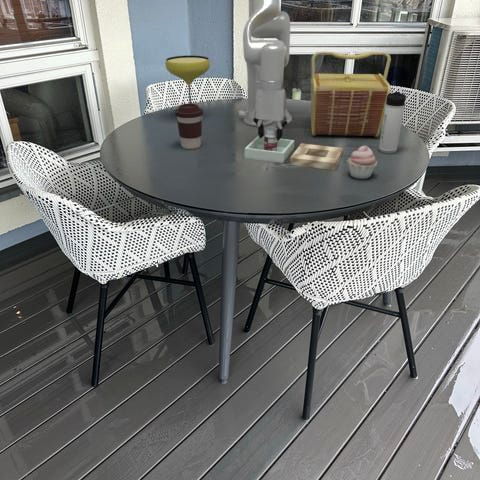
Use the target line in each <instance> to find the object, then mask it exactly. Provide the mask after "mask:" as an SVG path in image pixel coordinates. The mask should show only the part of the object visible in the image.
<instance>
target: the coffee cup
mask: <svg viewBox="0 0 480 480" xmlns="http://www.w3.org/2000/svg"><path fill="white" fill-rule="evenodd" d="M174 112H175V113H174V114H175V117H176V118H177V120H176V121H177V128H178V129H177V130H178V136H179V137H180V139H179V140H180V145H181V148H183V149H186V150H196V149H199V148H200V147H201V146H202V145H201V144H202V136H203V134H202V131H203V130H202V129H203V121H202V119H201V117H202V116H203V114H204V110H203V109H202V107H200V106H199V105H198V104H196V103H192V102H191V103H183V104H179V106H178V107H177V108H176V109H175V110H174Z"/></svg>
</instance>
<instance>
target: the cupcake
mask: <svg viewBox="0 0 480 480" xmlns="http://www.w3.org/2000/svg"><path fill="white" fill-rule="evenodd" d="M346 162H347V165H348V169H349V174H350V177H352V178H354V179H358V180H359V179H360V180H367V179H369V178H370V177H371V175H372V173H373V172H374V171H373V170H374V169H375V167H376V166H377V165H378V161H376V157H375V154H374V152H373V151H372V149H371V148H369V146H367V145H361V146H360V147H359V148H358V149H357V150H354V151H353V152H352V153H351V155H350V157H348V159H347V160H346Z"/></svg>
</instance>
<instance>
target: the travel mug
mask: <svg viewBox="0 0 480 480" xmlns="http://www.w3.org/2000/svg"><path fill="white" fill-rule="evenodd" d="M406 100H407V96H406V94H404V93H402V92H400V91H394V92H390V94H388V95H387V100H386V106H385V111H384V118H383V122H382V126H381V130H380V138H379V144H378V151H379V152H380V153H383V154H386V155H389V154H390V155H392V154H395V153H396V152H398V151H397V150H398V146H399V140H400V134H401V128H402V123H403V118H404V117H403V116H404V111H405V106H406Z"/></svg>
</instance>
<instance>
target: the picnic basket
mask: <svg viewBox="0 0 480 480" xmlns="http://www.w3.org/2000/svg"><path fill="white" fill-rule="evenodd" d="M319 55H331V56H333V57H335V58H338V59H341V60H342V59H343V60H360V59H361V60H362V59H365V58H368V57H370V56H374V55H375V56H379V55H380V56H385V57H386V64H385V65H386V66H385V69H384V71H383V72H384V74H383V75H382V74H381V73H378V74H377V73H376V74H373V73H372V74H371V73H364V74H363V73H316V57H317V56H319ZM310 60H311V65H310V67H311V74H310V75H311V76H310V77H311V79H310V80H311V81H310V87H311V88H310V125H311V133H312V134H311V135H312V136H313V137H314V136H316V135H317V136H318V135H321V136H357V137H358V136H359V137H375V138H377V137H379V136H380V134H381V130H382V124H383V118H384V111H385V106H386V100H387V95H388V94H390V93H391V85H390V83H389V82H388V80H387V78H388V73H389V69H390V66H391V61H392V57H391V55H390V54H389V53H388V52H385V51H370V52H364V53H359V54H344V53H340V52H334V51H325V50H324V51H323V50H322V51H316V52H315V53H313V55H312V57H311V59H310Z"/></svg>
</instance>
